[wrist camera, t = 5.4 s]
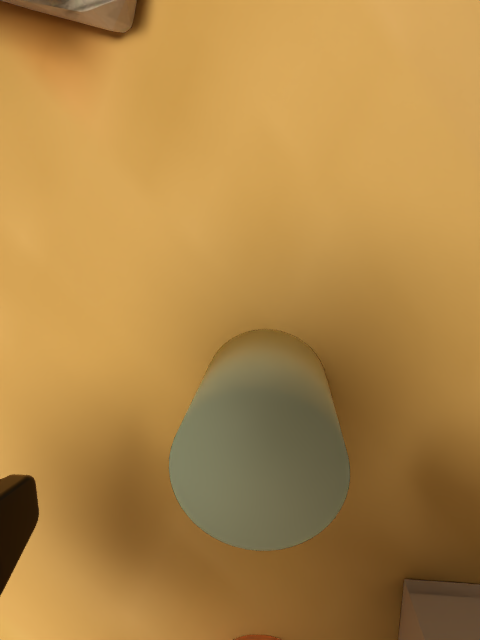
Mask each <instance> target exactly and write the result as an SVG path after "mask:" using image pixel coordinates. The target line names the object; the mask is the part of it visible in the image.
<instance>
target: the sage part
mask: <svg viewBox="0 0 480 640" xmlns="http://www.w3.org/2000/svg"><path fill="white" fill-rule="evenodd" d="M169 473H170V480H171V484H172V488H173V491H174V494H175V496H176V498H177V500H178V502H179V504H180V506H181V507H182V509H183V510H184V512H185V513H186V514H187V516H188V517H189V518H190V519H191V520H192V521H193V522H194V523H195V524H196V525H197V526H198V527H199V528H201V529H202V530H203V531H204V532H206V533H207V534H209V535H210V536H212V537H213V538H215V539H217V540H219V541H221V542H224V543H226V544H229V545H232V546H234V547H239V548H243V549H248V550H256V551H271V550H280V549H284V548H289V547H292V546H295V545H298V544H301V543H303V542H305V541H307V540H309V539H311V538H313V537H314V536H316V535H317V534H319V533H320V532H321V531H322V530H323V529H325V528H326V527H327V526H328V525H329V524H330V523H331V522H332V520H333V519H334V518H335V517H336V515H337V514H338V512H339V511H340V509H341V507H342V505H343V503H344V501H345V499H346V495H347V492H348V489H349V482H350V465H349V458H348V454H347V450H346V447H345V443H344V439H343V436H342V432H341V428H340V425H339V421H338V418H337V414H336V410H335V407H334V403H333V399H332V396H331V392H330V388H329V385H328V381H327V378H326V374H325V371H324V368H323V366H322V363H321V361H320V360H319V358H318V357H317V355H316V354H315V353H314V351H313V350H312V349H311V348H310V347H309V346H308V345H307V344H306V343H304V342H303V341H301V340H300V339H298V338H297V337H295V336H293V335H291V334H288V333H285V332H282V331H277V330H269V329H261V330H253V331H249V332H245V333H242V334H240V335H238V336H236V337H234V338H232V339H231V340H229V341H228V342H227V343H225V344H224V345H223V346H222V347H221V348H220V349H219V350H218V351H217V353H216V354H215V356H214V357H213V359H212V361H211V363H210V365H209V367H208V369H207V371H206V373H205V375H204V377H203V380H202V382H201V384H200V386H199V388H198V390H197V392H196V394H195V396H194V398H193V400H192V402H191V405H190V407H189V409H188V411H187V413H186V415H185V417H184V419H183V421H182V423H181V425H180V427H179V430H178V432H177V434H176V436H175V438H174V441H173V444H172V447H171V451H170V457H169Z"/></svg>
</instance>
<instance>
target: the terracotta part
mask: <svg viewBox="0 0 480 640" xmlns="http://www.w3.org/2000/svg"><path fill="white" fill-rule="evenodd" d="M233 640H281V639H279V638H276V637H272V636H267V635H247V636H242V637H239V638H236V639H233Z"/></svg>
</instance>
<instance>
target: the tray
mask: <svg viewBox="0 0 480 640" xmlns="http://www.w3.org/2000/svg"><path fill="white" fill-rule="evenodd" d="M398 640H480V584H467V583H453V582H439V581H425V580H410V579H404V586H403V596H402V606H401V616H400V626H399V636H398Z"/></svg>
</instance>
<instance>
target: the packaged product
mask: <svg viewBox="0 0 480 640" xmlns="http://www.w3.org/2000/svg"><path fill="white" fill-rule="evenodd" d="M1 1H4V2H7V3H11V4H14V5H17V6H21V7H24V8H27V9H31V10H35V11H38V12H42V13H46V14H50V15H53V16H57V17H61V18H65V19H68V20H72V21H76V22H80V23H83V24H87V25H91V26H94V27H98V28H102V29H106V30H109V31H114V32H123V33H125V32H126V31H128V30H129V29H130V28H131V27H132V23H133V20H134V15H135V9H136V3H137V0H1Z"/></svg>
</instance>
